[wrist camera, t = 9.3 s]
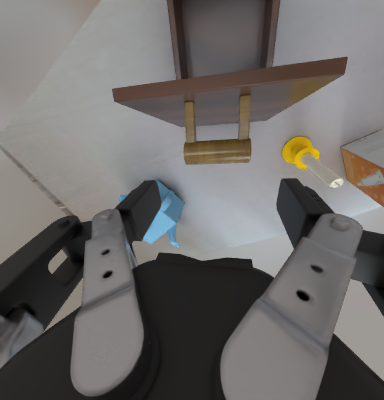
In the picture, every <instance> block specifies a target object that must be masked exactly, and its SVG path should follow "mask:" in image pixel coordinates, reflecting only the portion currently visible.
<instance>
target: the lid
mask: <svg viewBox="0 0 384 400" xmlns="http://www.w3.org/2000/svg"><path fill="white" fill-rule="evenodd" d="M347 59H348V57H341V58H334V59H326V60H319V61H312V62H305V63H297V64H290V65H283V66H275V67H268V68H261V69H253V70H246V71H239V72H231V73H224V74H217V75H209V76H202V77H195V78H187V79H180V80H173V81H165V82H158V83H151V84H144V85H136V86H129V87H122V88H114V89H112V91H113V97H114V101H115V102H117V103H119V104H122V105H125V106H127V107H130V108H132V109H135V110H138V111H140V112H143V113H146V114H148V115H151V116H153V117H156V118H159V119H161V120H164V121H166V122H169V123H172V124H174V125H177V126H180V127H186V141H187V142H185V144H184V160H185V163H186V164H187V165H192V164H222V163H249V162H250V158H251V139H250V138H249V122H254V121H266V120H268V119H270V118H271V117H273V116H275V115H276V114H278V113H280V112H281V111H283V110H285V109H286V108H288V107H290V106H292V105H293V104H295V103H297V102H298V101H300V100H302V99H303V98H305V97H307V96H308V95H310V94H312V93H314V92H315V91H317V90H319V89H320V88H322V87H324V86H325V85H327V84H329V83H330V82H332V81H334V80H335V79H337V78H339V77H341V76H342V75H344V74H345V69H346V64H347ZM229 123H239V131H238V139H227V140H211V141H196V126H204V125H216V124H229Z"/></svg>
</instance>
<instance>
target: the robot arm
mask: <svg viewBox="0 0 384 400" xmlns="http://www.w3.org/2000/svg"><path fill="white" fill-rule="evenodd" d="M160 208H161V197H160V192H159V188H158V184H157V181H155V180H147V181H144V182H143V183H142V184H141V185H140V186H139V187H138V188H136V189H134V190H133V191H131V192H130V193H129V194H128V196H126V197H125V199H124V200H123V201H122V202H121V203H120V204H119V205H118V206H117V207H116V208H115V209H108V210H104V211H102V212H100V213H98V214H96V215H95V216H94V217H93V219H92V221H87V222H82V223H81V222H80V220H79V219H78V217H77V216H73V215H72V216H66V217H63V218H60V219H58V220H57V221H55V222H53V223H52V224H51V225H50V226H48V227H47V228H46V229H44V230H43V231H42V232H41V233H39V234H38V235H37V236H36V237H34V238H33V239H32V240H31V241H29V242H28V243H27V244H25V245H24V246H23V247H22V248H20V249H19V250H18V251H17V252H16V253H14V254H13V255H12V256H10V257H9V258H8V259H7V260H6V261H4V262H3V263H2V264H0V400H384V381H383V380H382V379H381V378H380V377H379V376H378V375H377V374H376V373H375V372H373V371H372V370H371V369H370V368H369V367H368V366H367V365H366V364H365V363H364V362H363V361H362V360H361V359H360V358H359V357H358V356H357V355H356V354H355V353H354V352H353V351H352V350H351V349H350V348H349V347H347V346H346V345H345V344H344V343H343V342H342V341H341V340H340V339H339V338H338V337H337V336H336V335H335V334H334V333H333V331H334V329H335V325H336V322H337V319H338V316H339V313H340V310H341V307H342V304H343V301H344V298H345V294H346V291H347V288H348V285H349V282H350V279H353V280H357V281H360V282H362V283H363V285H364V286H365V288H366V290H367V291H368V293H369V294H370V296H371V297H372V299H373V301H374V302H375V304H376V305H377V306H378V308H379V310H380V311H381V313H382V315H383V316H384V234H379V233H375V232H370V231H365V230H363V227H362V226H361V225H360V224H359V223H358V222H357V221H355V220H354V219H352V218H350V217H347V216H344V215H340V214H335V213H334V212H333V211H332V209H331V208H330V207H329V206H328V205H327V204H326V203H325V202H324V201H323V200H322V198H321V197H319V195H318V194H317V193H316V192H315V191H314V190H312V189H310V188H309V187H307V186H303V185H302V184H301V183H300V181H299V180H298V179H297V178H288V179H282V180H281V183H280V188H279V193H278V198H277V211H278V213H279V216H280V218H281V220H282V222H283V225H284V227H285V229H286V232H287V234H288V236H289V239H290V240H291V243H292V245H293V248H294V250H293V252H292V253H291V255H290V256H289V258H288V259H287V261H286V262H285V263H284V265H283V266H282V268H281V269H280V271H279V272H278V274H277V275H276V277H275V278H274V277H272V276H271V275H269V274H267V273H266V272H264V271H261V270H259V269H256V268H253V265H252V260H251V259H239V258H221V259H213V260H207V261H200V260H197V259H194V258H191V257H187V256H184V255H181V254H171V253H159V254H158V256H157V258H156V260H152V261H148V262H145V263H143V264H141V265H138V262H137V258H136V255H135V251H134V248H133V245H132V242H133V241H142V239H143V238H144V236H145V234H146V232H147V231H148V229H149V227H150V226H151V224H152V222H153V220H154V219H155V217H156V215H157V213H158V212H159V210H160ZM61 249H62V250H63V251H64V252H65V254H66V255H67V258H66V260H65V261H64V262H63V263H62V264H61V265H60V266H59V267H58V268H57V270H56V271H55V272H54V273H53V274H51V273H50V272H49V270H48V264H49V262H50V260H51V259H52V258H53V257H54V256H55V255H56V254H57V253H58V252H59V251H60V250H61ZM82 278H83V289H82V304H81V306H80V307H79V308H77V309H76V310H75V311H73V312H72V313H70V314H69V315H68V316H66V317H65V318H64V319H62V320H61V321H59V322H58V323H56V324H55V325H54V326H52V327H51V328H49V329H48V330H47V331H45V329H46V328H47V326H48V325H49V324H50V322H51V321H52V319H53V318H54V317H55V315H56V314H57V312H58V311H59V309H60V308H61V307H62V305H63V304H64V302H65V301H66V300H67V299H68V297H69V296H70V294H71V293H72V292H73V290H74V289H75V287H76V286H77V285H78V283H79V282H80V280H81V279H82ZM44 331H45V332H44ZM43 332H44V333H43Z"/></svg>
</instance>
